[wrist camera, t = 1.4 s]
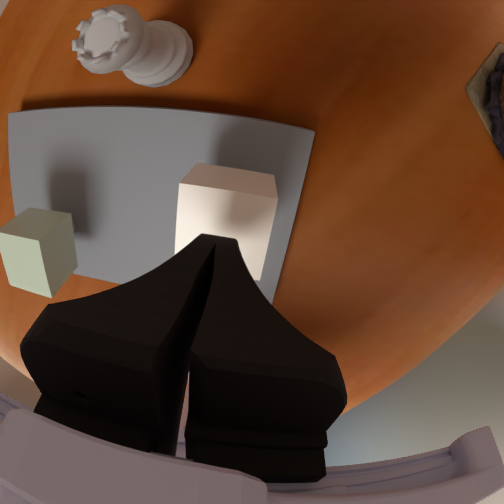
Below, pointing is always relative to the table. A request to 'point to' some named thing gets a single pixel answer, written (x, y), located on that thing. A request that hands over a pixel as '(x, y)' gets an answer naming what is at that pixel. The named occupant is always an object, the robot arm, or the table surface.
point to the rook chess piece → (133, 46)
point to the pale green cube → (39, 250)
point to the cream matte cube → (228, 209)
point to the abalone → (490, 94)
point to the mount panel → (145, 177)
